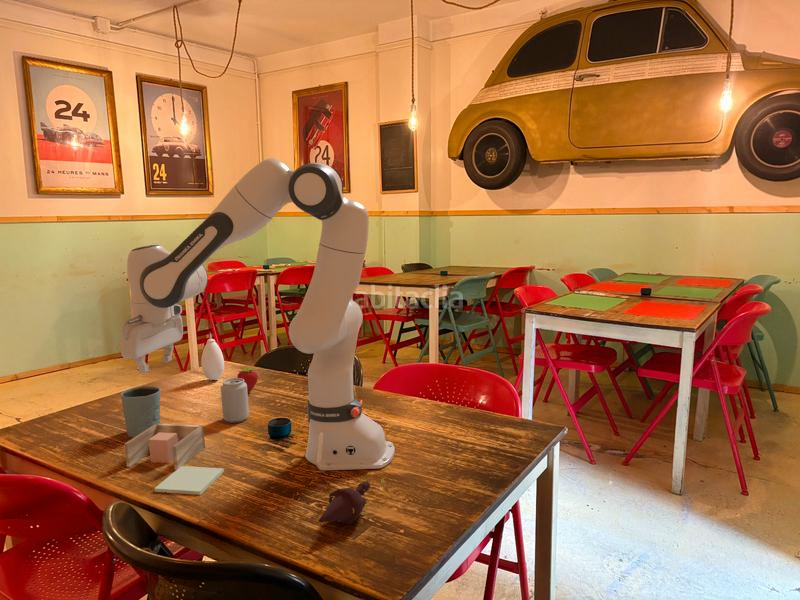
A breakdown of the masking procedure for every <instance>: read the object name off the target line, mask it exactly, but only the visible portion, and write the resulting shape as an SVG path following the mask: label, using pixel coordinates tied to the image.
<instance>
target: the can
mask: <svg viewBox="0 0 800 600" xmlns="http://www.w3.org/2000/svg"><path fill="white" fill-rule="evenodd" d="M248 393H249V392H247V384H246V383H245V382H244V379H242V378H237V377H235V378H234V377H231V378H228V379H225V380H223V381H222V385H221V386H220V395H221V409H222V419H223V420H225V422H226V423H231V424H236V423H237V424H238V423H241V422H244V421H246V420H247V419H248V418H249V416H250V407H249V397H248V396H249V395H248Z"/></svg>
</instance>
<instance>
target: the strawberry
mask: <svg viewBox="0 0 800 600" xmlns="http://www.w3.org/2000/svg"><path fill="white" fill-rule="evenodd" d="M244 367H245V368H242V370H238V373H237V377H236V378H242V379H244V382H245V383H246V384H247V393H250V392H252V390H253V389H254V387H255V386H256V385H257V383H258V379H259V376H258V373H256V371H255V369H254V368H251V367H249V368H247V366H246V365H244Z"/></svg>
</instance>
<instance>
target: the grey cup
mask: <svg viewBox="0 0 800 600" xmlns="http://www.w3.org/2000/svg"><path fill="white" fill-rule="evenodd" d="M120 399H121V404H122V410H123V415H124V416H123V418H124V422H125V429H126V435H127V436H128V437H129V438H131V437H132V438H131V439H133V438H134V437H136V436H137V435H139V434H140V433H142V432H144V431H145V430H147V429H148V428H150V427H151V426H153V425H154V424H161V388H160V387H157V386H153V385H152V386H150V385H147V386H136V387H133V388H128V389H125V390H124V391H122V392H121V393H120Z"/></svg>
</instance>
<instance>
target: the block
mask: <svg viewBox="0 0 800 600" xmlns="http://www.w3.org/2000/svg"><path fill="white" fill-rule="evenodd" d="M176 443H178V438H177V433H161V432H159V433H157V434H156V435H155V436H153V437H152V438H150V439H149V449H150V453H149V457H150V459H149V460H150V463H157V462H161V463H162V464H170V463H171V462H172V460H173V461H174V456H173V446H174V445H175V444H176Z"/></svg>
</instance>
